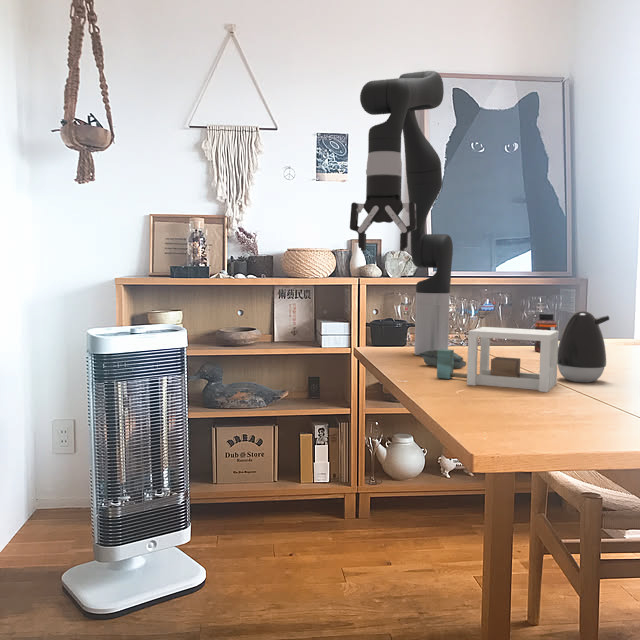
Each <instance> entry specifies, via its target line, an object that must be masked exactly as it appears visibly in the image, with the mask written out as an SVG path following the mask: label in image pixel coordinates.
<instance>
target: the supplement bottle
mask: <svg viewBox="0 0 640 640" xmlns="http://www.w3.org/2000/svg"><path fill="white" fill-rule="evenodd" d="M538 318H539V319H538V320H536V321H535V325H534V328H535V329H534V330H553V331H557V328H558V327H557V325H558V324H557V322H556V320H555V319H554V313H552V312H539V315H538ZM540 347H541V341H534V351H535V352H537V351H538V353H540Z"/></svg>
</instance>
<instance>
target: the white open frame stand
mask: <svg viewBox="0 0 640 640" xmlns="http://www.w3.org/2000/svg"><path fill="white" fill-rule="evenodd" d="M559 332H560V330H556V331H553V330H535V329H533V328H532V329H531V328H530V329H529V328H528V329H527V328H514V327H513V328H511V327H493V326H481V327H477V328H473V329H471V330H468V331H467V333H468V339H467V364H466V366H467V369H466V370H467V372H466V374H467V378H466V385H467V386H476V385H477V386H478V385H481V386H488V387H489V386H491V387H499V388H500V387H501V388H513V389H524V390H535V391H538V392H542V393H543V392H544V393H548V392H549V391H551V389H552V388H553V387H554V386H555V385H556V384H558V382H557V381H558V364H557V362H558V346H559V337H560V335H559ZM479 338H480V348H479V349H480V353H479V356H480V358H479V359H480V360H479V374H478V352H479V350H478V347H479ZM491 339H500V340H519V341H534V342H535V341H541V347H540V352H539V372H538V373H534V372H533V373H532V372H523V371H520V378H517V377H505V376H493V375H491V369H490V350H491V349H490V345H491V344H490V343H491Z"/></svg>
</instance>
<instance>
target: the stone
mask: <svg viewBox="0 0 640 640" xmlns="http://www.w3.org/2000/svg"><path fill="white" fill-rule="evenodd" d="M437 352H438V350H432V351H431V350H430V351H426V352H422V353H420V354H419V355H418V356H419V357H421V359H423V362H424V363H425V365H428V366H434V367H437ZM466 366H467V362H466V361H464V358H463V356H461V355H459V354H458V353H456V352H454V361H453V369H461V368H464V367H466Z"/></svg>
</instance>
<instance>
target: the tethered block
mask: <svg viewBox="0 0 640 640" xmlns="http://www.w3.org/2000/svg"><path fill="white" fill-rule="evenodd" d="M454 353H455V350H454V349H449V348H448V349H440V350H438V352H437V366H436V378H437V379H446V380H448V379H452V378H456V379H457V378H458V379H467V373H465V372H464V373H463V372H462V373H461V372H454V368H453V361H454ZM490 370H491V375H493V376H505V377H517V378H520V372H521V358H516V357H504V356H503V357H501V356H495V357H493V358H491V359H490Z"/></svg>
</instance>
